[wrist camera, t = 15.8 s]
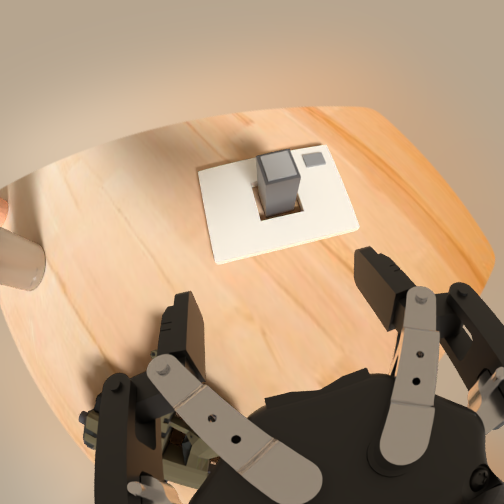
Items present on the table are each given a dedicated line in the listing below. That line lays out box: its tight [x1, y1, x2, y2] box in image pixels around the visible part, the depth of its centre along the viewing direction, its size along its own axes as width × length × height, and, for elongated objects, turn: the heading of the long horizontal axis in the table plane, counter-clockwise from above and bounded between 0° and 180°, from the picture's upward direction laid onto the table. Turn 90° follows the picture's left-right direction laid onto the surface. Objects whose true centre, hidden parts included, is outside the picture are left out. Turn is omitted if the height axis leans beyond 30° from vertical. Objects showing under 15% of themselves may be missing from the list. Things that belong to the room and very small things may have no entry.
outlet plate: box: [198, 145, 360, 265], centre depth 37 cm, size 20×14×2 cm
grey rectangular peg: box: [256, 149, 301, 217], centre depth 33 cm, size 4×4×10 cm
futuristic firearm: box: [79, 350, 219, 489], centre depth 28 cm, size 7×31×25 cm
